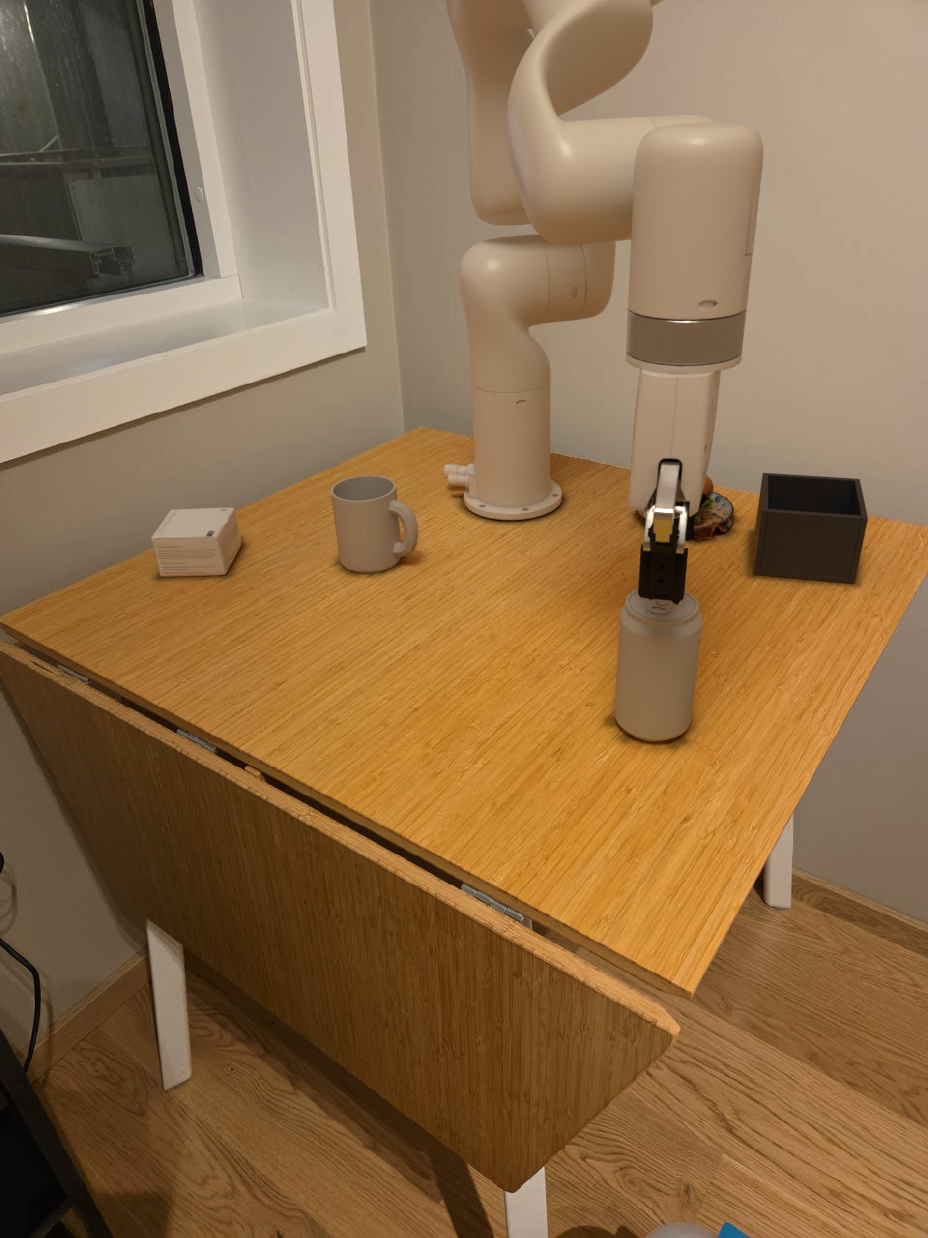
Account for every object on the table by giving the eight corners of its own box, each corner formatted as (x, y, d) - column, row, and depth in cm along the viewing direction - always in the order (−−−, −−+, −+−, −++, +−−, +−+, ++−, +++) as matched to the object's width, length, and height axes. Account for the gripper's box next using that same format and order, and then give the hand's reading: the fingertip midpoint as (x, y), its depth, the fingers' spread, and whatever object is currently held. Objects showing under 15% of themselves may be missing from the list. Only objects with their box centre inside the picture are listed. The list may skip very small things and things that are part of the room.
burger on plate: (628, 499, 115) (631, 444, 111) (722, 497, 114) (728, 441, 110) (640, 542, 105) (644, 483, 101) (743, 540, 104) (751, 480, 100)
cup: (359, 541, 108) (351, 471, 104) (434, 554, 105) (429, 483, 100) (328, 568, 103) (317, 496, 98) (405, 583, 99) (399, 509, 94)
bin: (753, 574, 97) (762, 510, 93) (754, 533, 106) (762, 472, 102) (854, 584, 95) (868, 518, 91) (847, 540, 103) (859, 478, 99)
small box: (179, 546, 109) (170, 507, 107) (243, 545, 109) (235, 506, 106) (158, 577, 103) (148, 537, 100) (226, 576, 102) (218, 536, 100)
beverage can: (698, 709, 78) (712, 589, 72) (680, 755, 73) (693, 630, 67) (626, 693, 80) (633, 575, 74) (604, 736, 75) (610, 614, 69)
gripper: (641, 306, 68) (630, 515, 76) (608, 371, 53) (600, 619, 62) (746, 307, 66) (722, 522, 74) (740, 376, 51) (712, 630, 60)
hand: (666, 566), depth 68 cm, fingers open, 9 cm apart
